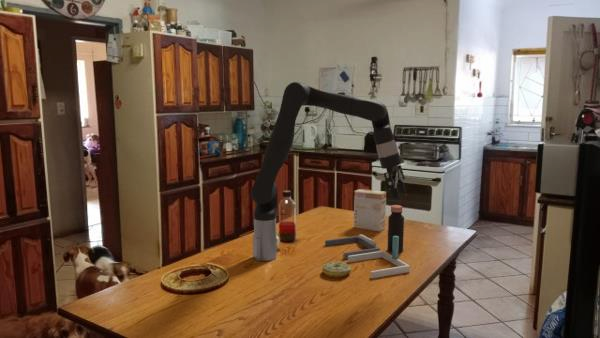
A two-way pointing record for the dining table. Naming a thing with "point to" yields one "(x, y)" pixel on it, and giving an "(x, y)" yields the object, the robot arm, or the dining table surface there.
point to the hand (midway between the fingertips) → (399, 195)
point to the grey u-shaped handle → (360, 239)
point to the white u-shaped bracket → (392, 258)
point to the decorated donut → (336, 269)
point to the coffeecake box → (369, 209)
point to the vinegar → (395, 227)
